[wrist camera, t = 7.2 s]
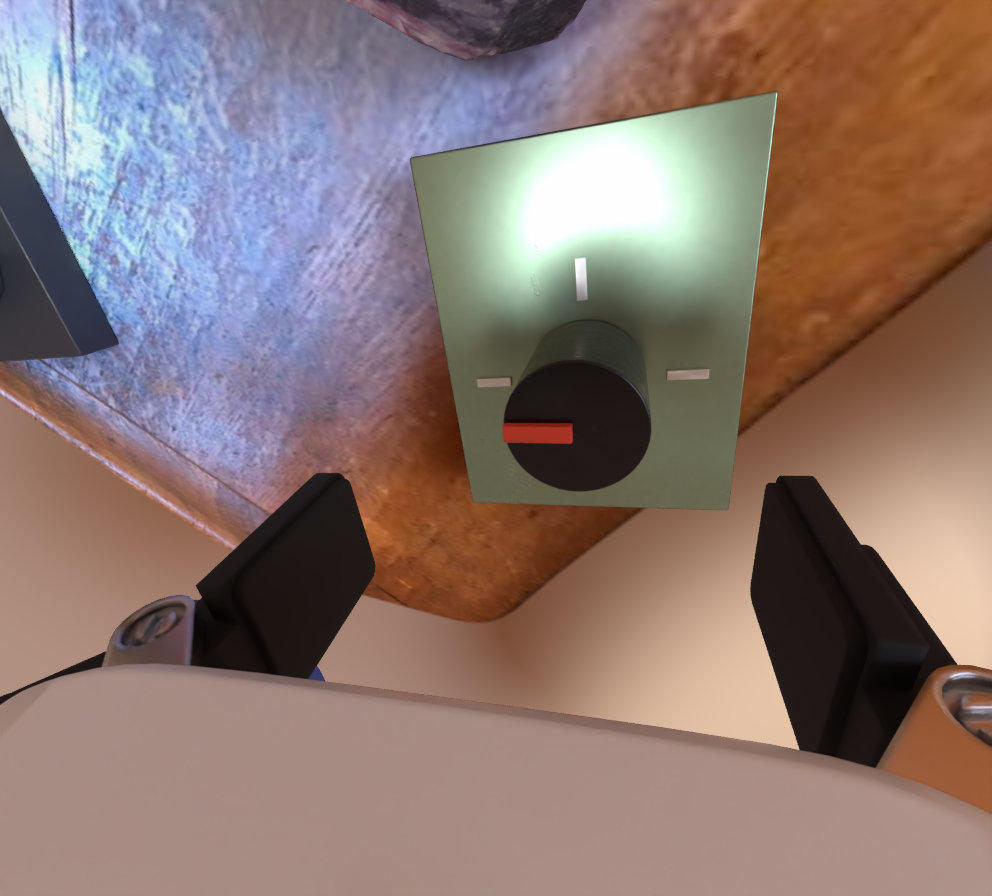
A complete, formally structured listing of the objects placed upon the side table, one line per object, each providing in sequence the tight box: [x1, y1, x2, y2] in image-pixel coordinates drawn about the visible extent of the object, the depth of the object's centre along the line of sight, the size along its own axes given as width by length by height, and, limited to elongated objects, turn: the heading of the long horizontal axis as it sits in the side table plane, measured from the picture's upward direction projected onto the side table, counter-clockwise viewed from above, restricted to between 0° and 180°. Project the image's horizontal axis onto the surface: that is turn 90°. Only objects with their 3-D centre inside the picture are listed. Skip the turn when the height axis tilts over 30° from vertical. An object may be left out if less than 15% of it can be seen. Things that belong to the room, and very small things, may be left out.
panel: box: [410, 91, 778, 510], centre depth 19 cm, size 14×11×3 cm
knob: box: [502, 320, 652, 492], centre depth 16 cm, size 4×4×5 cm
